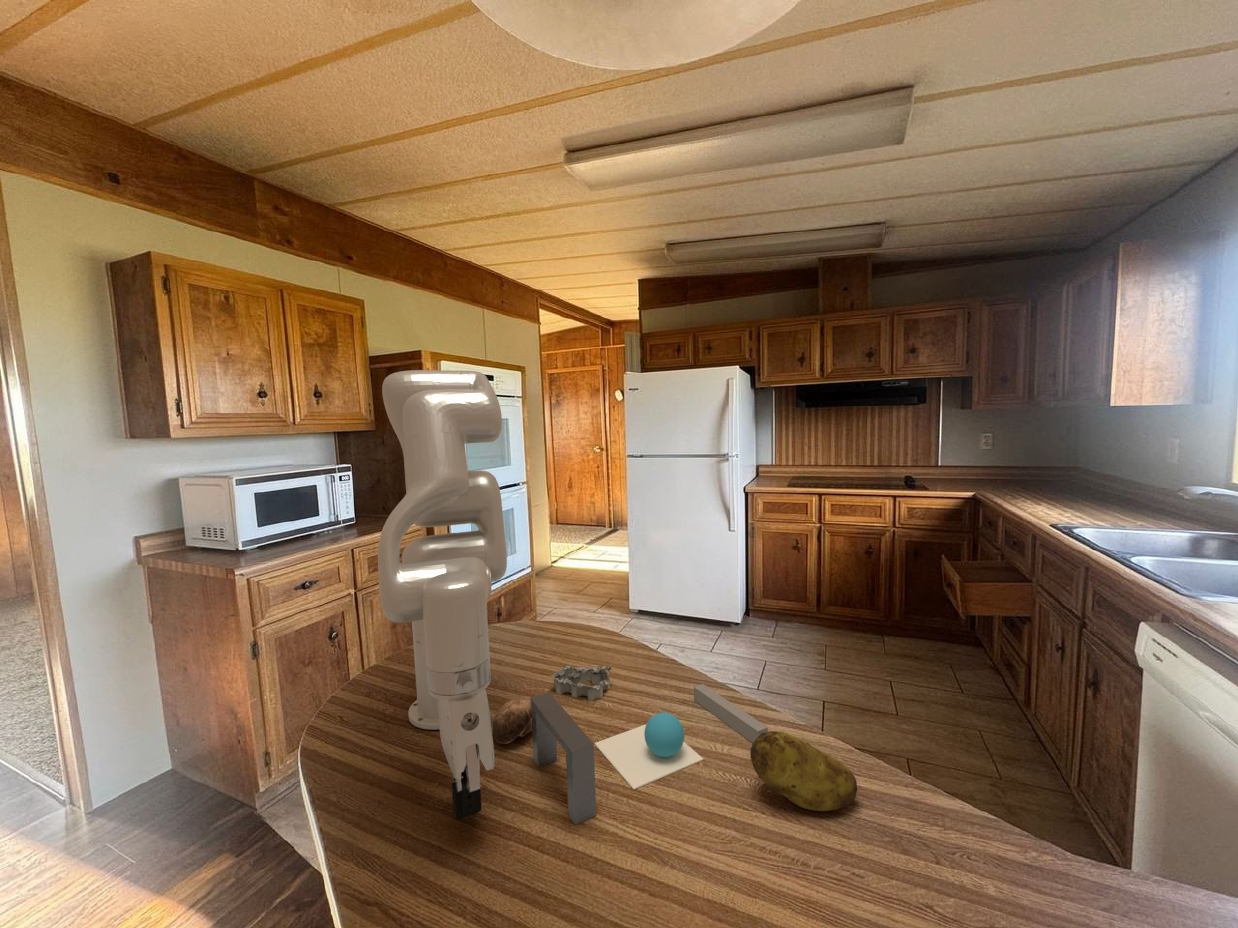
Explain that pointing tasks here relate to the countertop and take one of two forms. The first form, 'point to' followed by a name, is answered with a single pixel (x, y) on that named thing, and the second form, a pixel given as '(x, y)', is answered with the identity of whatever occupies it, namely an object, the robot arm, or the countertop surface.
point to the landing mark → (643, 758)
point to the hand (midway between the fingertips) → (467, 811)
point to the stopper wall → (729, 713)
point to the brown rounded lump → (512, 720)
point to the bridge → (579, 749)
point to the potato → (802, 772)
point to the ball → (664, 734)
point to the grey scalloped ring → (572, 677)
